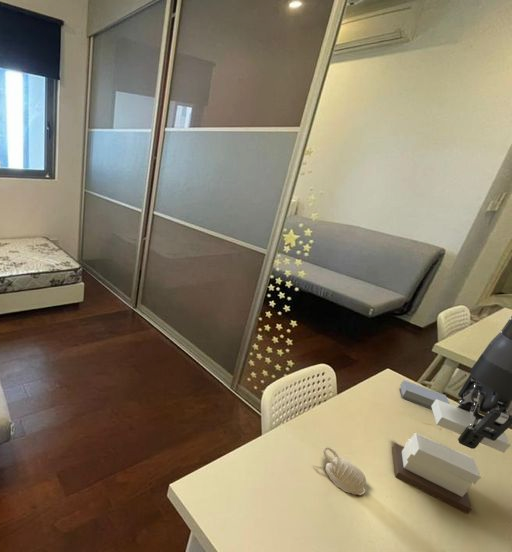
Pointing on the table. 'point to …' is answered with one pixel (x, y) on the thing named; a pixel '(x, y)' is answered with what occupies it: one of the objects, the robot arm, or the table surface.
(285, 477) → the table surface
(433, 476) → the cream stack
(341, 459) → the decorative ornament
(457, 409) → the white rectangular block
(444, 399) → the blue-grey block
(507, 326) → the robot arm
